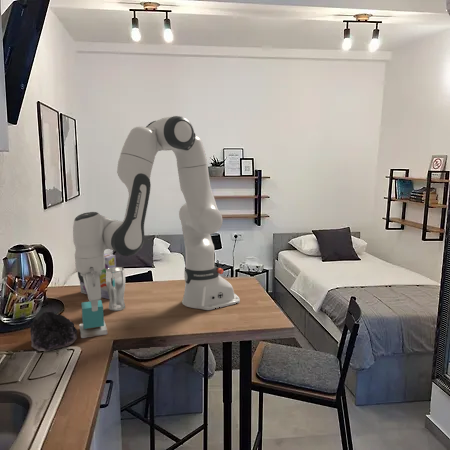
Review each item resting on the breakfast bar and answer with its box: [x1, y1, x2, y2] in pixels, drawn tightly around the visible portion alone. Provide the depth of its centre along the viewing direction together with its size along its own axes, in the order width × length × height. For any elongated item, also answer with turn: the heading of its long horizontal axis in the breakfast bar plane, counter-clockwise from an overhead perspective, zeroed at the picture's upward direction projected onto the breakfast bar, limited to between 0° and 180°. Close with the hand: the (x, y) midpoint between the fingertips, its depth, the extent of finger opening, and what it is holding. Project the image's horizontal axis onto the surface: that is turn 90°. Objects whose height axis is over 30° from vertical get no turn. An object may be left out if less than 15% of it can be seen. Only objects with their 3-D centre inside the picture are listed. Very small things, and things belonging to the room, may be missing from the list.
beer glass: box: [106, 266, 126, 312], centre depth 152 cm, size 7×7×15 cm
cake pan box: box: [77, 253, 117, 300], centre depth 166 cm, size 19×5×18 cm, turn 58°
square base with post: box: [79, 320, 108, 339], centre depth 132 cm, size 8×8×8 cm
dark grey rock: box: [29, 311, 78, 352], centre depth 124 cm, size 13×14×10 cm
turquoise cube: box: [80, 299, 105, 329], centre depth 132 cm, size 6×6×7 cm
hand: (93, 305), depth 131 cm, fingers open, 8 cm apart
